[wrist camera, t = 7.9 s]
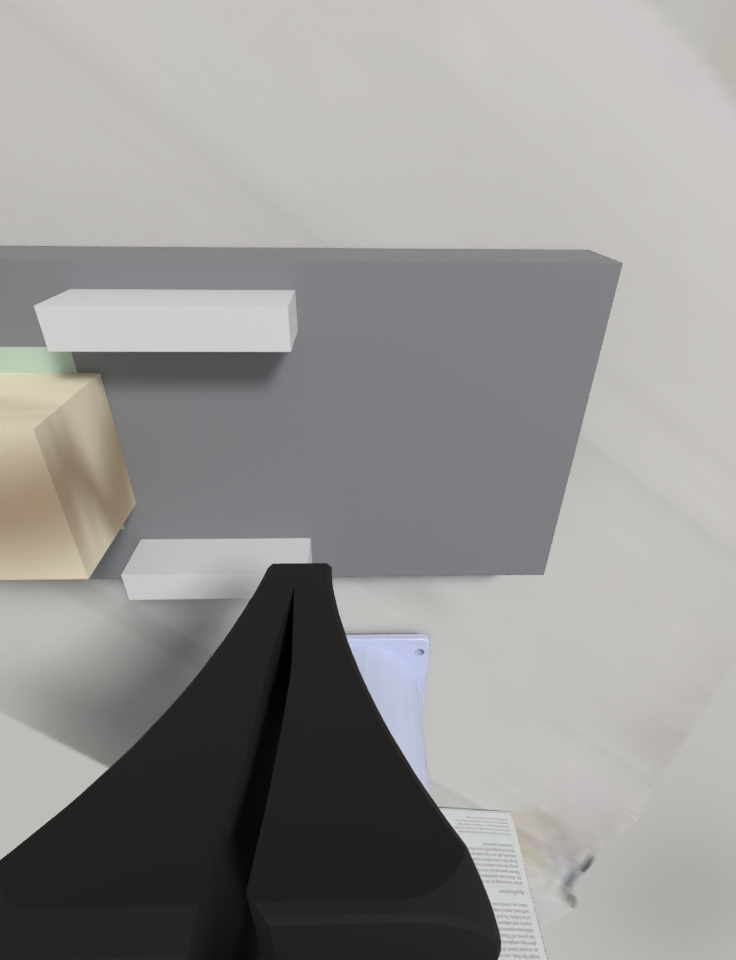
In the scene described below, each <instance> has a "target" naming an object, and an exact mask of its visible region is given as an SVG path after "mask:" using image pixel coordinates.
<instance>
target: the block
mask: <svg viewBox="0 0 736 960" xmlns="http://www.w3.org/2000/svg"><path fill="white" fill-rule="evenodd" d="M135 505H136V501H135V497H134V494H133V490H132V486H131V483H130V479H129V475H128V472H127V468H126V465H125V461H124V457H123V454H122V450H121V446H120V443H119V439H118V436H117V432H116V428H115V425H114V421H113V417H112V414H111V410H110V407H109V403H108V399H107V396H106V392H105V388H104V385H103V381H102V378H101V374H100V373H0V580H47V579H89V578H90V576H91V574H92V573H93V571H94V570H95V568H96V567H97V565H98V563H99V562H100V560H101V559H102V557H103V556H104V554H105V552H106V551H107V549H108V548H109V546H110V544H111V543H112V541H113V540H114V538H115V537H116V535H117V533H118V532H119V530H120V529H121V527H122V525H123V524H124V522H125V521H126V519H127V518H128V516H129V514H130V513H131V511H132V510H133V508H134V507H135Z"/></svg>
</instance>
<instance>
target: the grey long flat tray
mask: <svg viewBox="0 0 736 960" xmlns="http://www.w3.org/2000/svg"><path fill="white" fill-rule="evenodd" d="M621 267H622V263H621V262H619V261H616V260H614V259H611V258H608V257H606V256H603V255H600V254H598V253H595V252H592V251H590V250H490V249H347V248H203V247H59V246H0V373H100V374H101V378H102V381H103V385H104V388H105V392H106V396H107V399H108V403H109V407H110V410H111V414H112V417H113V421H114V425H115V428H116V432H117V436H118V439H119V443H120V446H121V450H122V454H123V457H124V461H125V465H126V468H127V472H128V475H129V479H130V483H131V486H132V490H133V494H134V497H135V501H136V505H135V507H134V508H133V510H132V511H131V513H130V514H129V516H128V518H127V519H126V521H125V522H124V524H123V525H122V527H121V529H120V530H119V532H118V533H117V535H116V537H115V538H114V540H113V541H112V543H111V544H110V546H109V548H108V549H107V551H106V552H105V554H104V556H103V557H102V559H101V560H100V562H99V563H98V565H97V567H96V568H95V570H94V571H93V573H92V574H91V576H90V578H89V579H123V582H124V585H125V589H126V592H127V595H128V598H129V600H165V599H251V598H252V596H253V595H254V593H255V591H256V589H257V588H258V586H259V584H260V582H261V580H262V578H263V577H264V575H265V573H266V571H267V569H268V567H269V566H270V565H272V564H281V563H327V564H328V565H330V566H331V567H332V577H349V576H455V575H544V572H545V568H546V564H547V560H548V556H549V552H550V548H551V544H552V540H553V536H554V532H555V528H556V524H557V520H558V516H559V512H560V508H561V504H562V501H563V497H564V493H565V489H566V485H567V481H568V477H569V473H570V469H571V465H572V461H573V457H574V453H575V449H576V445H577V441H578V437H579V433H580V429H581V425H582V421H583V418H584V414H585V410H586V406H587V402H588V398H589V394H590V390H591V386H592V382H593V378H594V374H595V370H596V366H597V362H598V358H599V354H600V350H601V346H602V342H603V339H604V335H605V331H606V327H607V323H608V319H609V315H610V311H611V307H612V303H613V299H614V295H615V291H616V287H617V283H618V279H619V275H620V271H621Z"/></svg>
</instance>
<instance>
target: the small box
mask: <svg viewBox="0 0 736 960" xmlns="http://www.w3.org/2000/svg"><path fill="white" fill-rule="evenodd" d="M439 809H440V810H441V812H442V813H443V815H444V816H445V817H446V819H447V820H448V822H449V823H450V824H451V826H452V827H453V828H454V830H455V831H456V832H457V834H458V835H459V836H460V838H461V839H462V840H463V842H464V843H465V845H466V846H467V848H468V850H469V852H470V854H471V857H472V859H473V861H474V864H475V866H476V868H477V870H478V873H479V875H480V877H481V880H482V882H483V885H484V887H485V889H486V892H487V894H488V897H489V900H490V903H491V905H492V908H493V912H494V915H495V918H496V922H497V925H498V929H499V933H500V938H501V953H500V955H499V958H498V960H548V959H547V955H546V951H545V947H544V942H543V938H542V934H541V930H540V927H539V922H538V919H537V915H536V911H535V907H534V902H533V898H532V894H531V890H530V886H529V882H528V877H527V873H526V869H525V865H524V861H523V857H522V853H521V849H520V845H519V841H518V837H517V833H516V829H515V825H514V820H513V816H512V813H511V812H510V811H491V810H475V809H460V808H442V807H440V808H439Z"/></svg>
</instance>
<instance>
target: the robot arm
mask: <svg viewBox="0 0 736 960" xmlns="http://www.w3.org/2000/svg"><path fill="white" fill-rule="evenodd" d="M429 647H430V644H429V638H428V637H427V636H426V635H424V634H358V635H346V634H345V631H344V628H343V625H342V622H341V619H340V616H339V612H338V609H337V605H336V600H335V596H334V591H333V585H332V567H331V566H330V565H328V564H327V563H281V564H272V565H270V566H269V567H268V569H267V571H266V573H265V575H264V577H263V578H262V580H261V582H260V584H259V586H258V588H257V589H256V591H255V593H254V595H253V596H252V598H251V600H250V601H249V603H248V604H247V606H246V608H245V609H244V611H243V612H242V614H241V615H240V617H239V618H238V620H237V622H236V623H235V625H234V626H233V628H232V629H231V631H230V632H229V634H228V635H227V636H226V638H225V639H224V641H223V642H222V643H221V645H220V646H219V647H218V649H217V650H216V651H215V653H214V654H213V655H212V657H211V658H210V659H209V661H208V662H207V664H206V665H205V666H204V668H203V669H202V670H201V671H200V673H199V674H198V675H197V676H196V678H195V679H194V680H193V681H192V682H191V684H190V685H189V686H188V687H187V688H186V690H185V691H184V692H183V693H182V694H181V695H180V697H179V698H178V699H177V700H176V701H175V702H174V703H173V705H172V706H171V707H170V708H169V709H168V710H167V711H166V712H165V713H164V714H163V716H162V717H161V718H160V719H159V720H158V721H157V722H156V723H155V724H154V725H153V726H152V727H151V728H150V729H149V730H148V731H147V732H146V733H145V734H144V735H143V737H142V738H141V739H140V740H139V741H138V742H137V743H136V744H135V745H134V746H133V747H132V748H131V749H130V750H128V751H127V752H126V753H125V754H124V755H123V756H122V757H121V758H120V759H119V760H118V761H117V762H116V763H115V764H114V765H112V766H111V767H110V768H109V769H108V770H107V771H106V772H105V773H104V774H103V775H101V776H100V777H99V778H98V779H97V780H96V781H95V782H94V783H93V784H92V785H91V786H89V787H88V788H87V789H86V790H85V791H84V792H83V793H82V794H81V795H80V796H78V797H77V798H76V799H75V800H74V801H73V802H72V803H70V804H69V805H68V806H67V807H66V808H64V809H63V810H62V811H61V812H59V813H58V814H57V815H56V816H55V817H53V818H52V819H51V820H50V821H48V822H47V823H46V824H45V825H44V826H42V827H41V828H40V829H39V830H37V831H36V832H35V833H34V834H32V835H31V836H30V837H29V838H27V839H26V840H25V841H24V842H23V843H21V844H20V845H19V846H18V847H17V848H15V849H14V850H13V851H11V852H10V853H9V854H7V855H6V856H5V857H4V858H2V859H1V860H0V960H498V958H499V955H500V953H501V938H500V933H499V929H498V925H497V922H496V918H495V915H494V912H493V908H492V905H491V903H490V900H489V897H488V894H487V892H486V889H485V887H484V885H483V882H482V880H481V877H480V875H479V873H478V870H477V868H476V866H475V864H474V861H473V859H472V857H471V854H470V852H469V850H468V848H467V846H466V845H465V843H464V842H463V840H462V839H461V838H460V836H459V835H458V834H457V832H456V831H455V830H454V828H453V827H452V826H451V824H450V823H449V822H448V820H447V819H446V817H445V816H444V815H443V813H442V812H441V810H440V809H439V808H438V806H437V805H436V804H435V802H434V801H433V799H432V798H431V789H430V781H429V773H428V765H427V757H426V749H425V741H424V732H423V724H422V712H423V703H424V694H425V684H426V675H427V666H428V656H429ZM417 649H420V650H417Z"/></svg>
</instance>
